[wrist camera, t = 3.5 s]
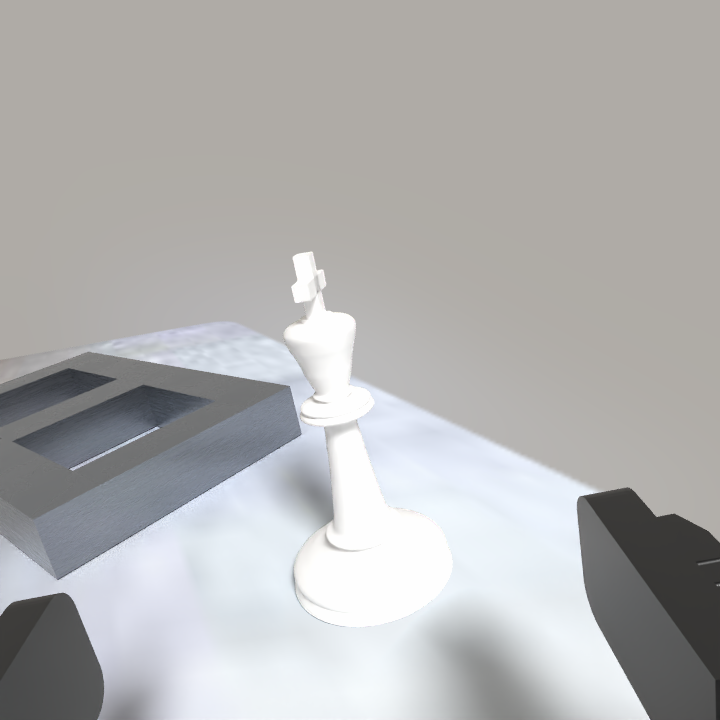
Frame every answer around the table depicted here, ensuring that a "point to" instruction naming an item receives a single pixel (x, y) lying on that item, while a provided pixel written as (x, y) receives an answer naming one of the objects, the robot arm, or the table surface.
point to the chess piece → (354, 488)
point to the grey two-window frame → (122, 449)
